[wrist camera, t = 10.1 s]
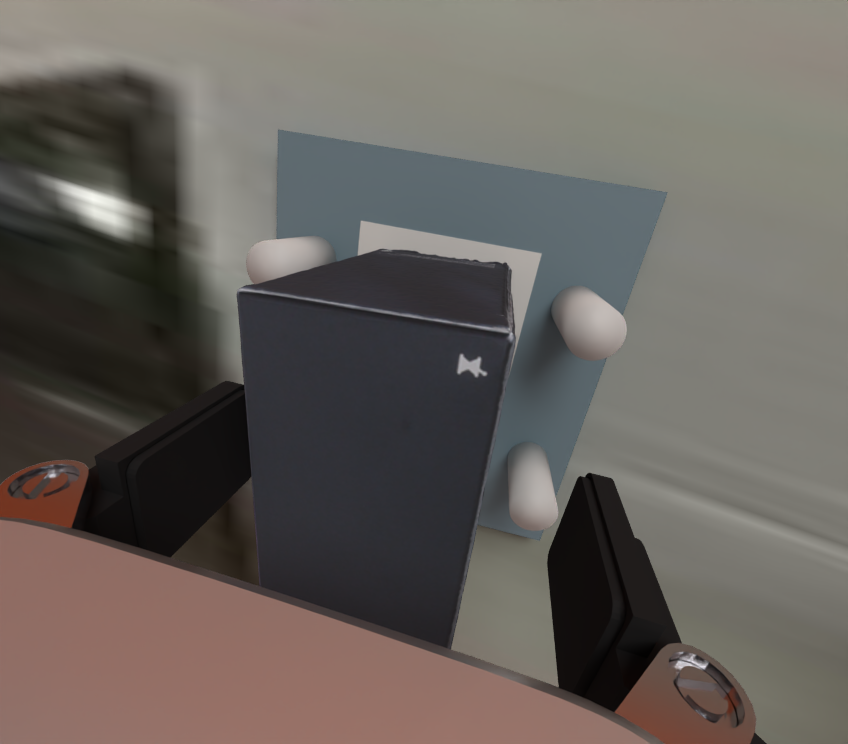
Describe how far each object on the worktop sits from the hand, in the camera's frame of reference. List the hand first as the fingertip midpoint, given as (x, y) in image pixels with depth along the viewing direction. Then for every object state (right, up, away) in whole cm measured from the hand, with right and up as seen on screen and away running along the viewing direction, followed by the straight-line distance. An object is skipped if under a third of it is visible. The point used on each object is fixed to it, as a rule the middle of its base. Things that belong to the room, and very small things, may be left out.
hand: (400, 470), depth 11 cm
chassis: (+1, +4, +10) cm, 10 cm away
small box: (+1, +3, +9) cm, 9 cm away
